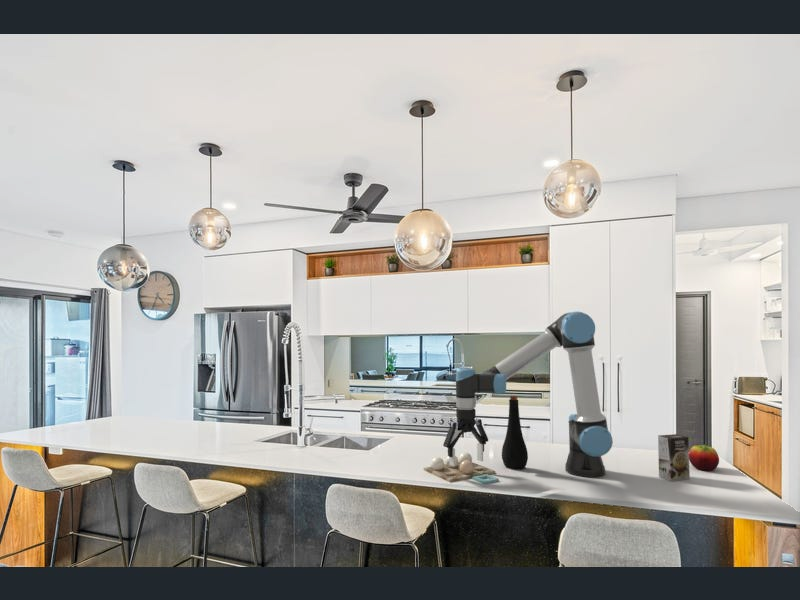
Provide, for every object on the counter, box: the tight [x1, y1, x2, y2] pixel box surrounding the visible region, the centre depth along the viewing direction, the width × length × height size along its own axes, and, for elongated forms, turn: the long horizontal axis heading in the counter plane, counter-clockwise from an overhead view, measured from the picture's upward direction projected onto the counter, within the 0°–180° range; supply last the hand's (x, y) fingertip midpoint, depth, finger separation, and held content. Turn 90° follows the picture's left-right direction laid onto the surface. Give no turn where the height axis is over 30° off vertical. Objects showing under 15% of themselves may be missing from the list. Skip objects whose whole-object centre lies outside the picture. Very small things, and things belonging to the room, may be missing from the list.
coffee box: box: [657, 433, 691, 482], centre depth 192 cm, size 9×6×16 cm
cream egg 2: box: [444, 455, 459, 468], centre depth 202 cm, size 6×6×6 cm
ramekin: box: [471, 474, 500, 485], centre depth 187 cm, size 7×7×2 cm
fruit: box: [689, 444, 720, 472], centre depth 204 cm, size 11×11×10 cm
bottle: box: [501, 395, 529, 470], centre depth 205 cm, size 11×11×30 cm
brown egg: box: [460, 460, 474, 475], centre depth 194 cm, size 6×6×6 cm
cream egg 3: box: [458, 452, 473, 464], centre depth 206 cm, size 6×6×6 cm
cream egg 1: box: [430, 456, 445, 471], centre depth 199 cm, size 6×6×6 cm
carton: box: [423, 461, 496, 483], centre depth 198 cm, size 22×18×2 cm
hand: (466, 462), depth 194 cm, fingers open, 13 cm apart
